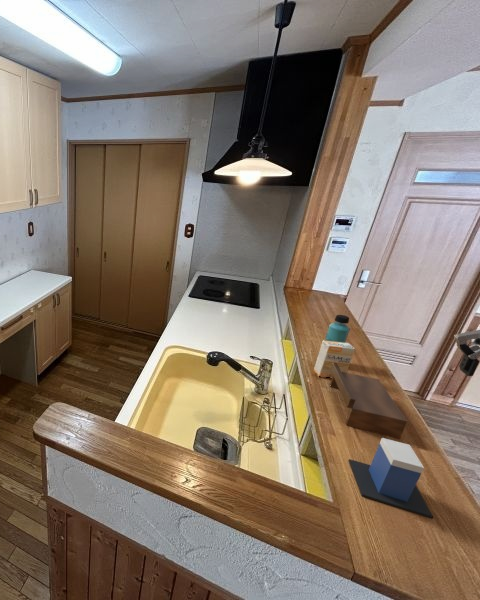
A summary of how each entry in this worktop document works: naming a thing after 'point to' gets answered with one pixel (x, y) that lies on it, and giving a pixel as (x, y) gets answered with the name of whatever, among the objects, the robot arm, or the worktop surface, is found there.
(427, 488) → the worktop surface
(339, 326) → the beverage bottle
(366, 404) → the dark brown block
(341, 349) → the supplement box
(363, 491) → the mat
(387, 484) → the box
